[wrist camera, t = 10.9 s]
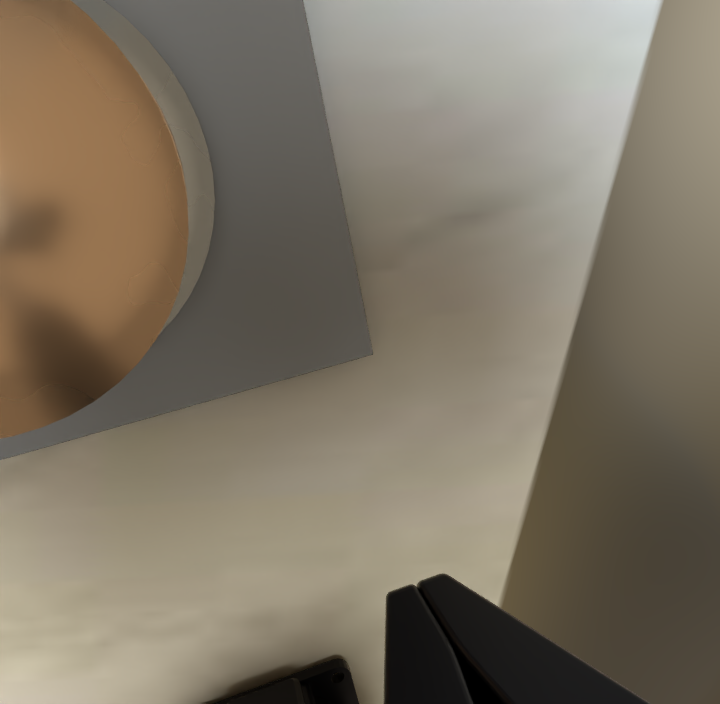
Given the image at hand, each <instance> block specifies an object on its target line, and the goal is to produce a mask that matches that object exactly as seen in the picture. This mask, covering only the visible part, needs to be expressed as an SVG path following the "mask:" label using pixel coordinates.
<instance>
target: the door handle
mask: <svg viewBox="0 0 720 704" xmlns="http://www.w3.org/2000/svg"><path fill="white" fill-rule="evenodd" d="M188 234H189V227H188V203H187V189H186V183H185V177H184V171H183V166H182V162H181V158H180V155H179V152H178V149H177V145H176V142H175V139H174V136H173V134H172V132H171V129H170V127H169V125H168V123H167V120H166V118H165V116H164V114H163V111H162V110H161V108H160V106H159V105H158V103H157V101H156V99H155V98H154V96H153V94H152V93H151V91H150V89H149V88H148V86H147V84H146V83H145V82H144V80H143V79H142V78H141V76H140V75H139V74H138V72H137V71H136V70H135V68H134V67H133V66H132V64H131V63H130V62H129V61H128V59H127V58H126V57H125V55H124V54H123V53H122V51H121V50H120V49H119V48H118V46H117V45H116V44H115V42H114V41H113V40H112V39H111V38H110V37H109V36H108V35H107V34H106V33H105V32H104V31H103V30H102V29H101V28H100V27H99V26H98V25H97V24H96V23H95V22H94V21H93V20H92V19H91V18H90V17H89V15H88V14H86V13H85V12H84V11H83V10H82V9H80V8H79V7H78V6H77V5H76V4H74V3H73V2H72V1H71V0H0V439H1V438H7V437H12V436H15V435H19V434H22V433H26V432H29V431H32V430H36V429H39V428H42V427H44V426H47V425H49V424H52V423H54V422H56V421H59V420H61V419H63V418H66V417H68V416H70V415H72V414H73V413H75V412H77V411H79V410H80V409H82V408H84V407H86V406H87V405H89V404H91V403H92V402H94V401H96V400H97V399H98V398H100V397H101V396H102V395H104V394H105V393H106V392H107V391H109V390H110V389H111V388H113V387H114V386H115V385H117V384H118V383H119V382H120V381H121V380H122V379H123V378H124V377H125V376H126V375H127V374H128V373H129V372H130V371H131V370H132V369H133V368H134V367H135V366H136V365H137V364H138V363H139V362H140V360H141V359H142V358H143V356H144V355H145V354H146V352H147V351H148V350H149V348H150V347H151V346H152V344H153V343H154V342H155V340H156V339H157V337H158V335H159V333H160V331H161V330H162V328H163V326H164V324H165V323H166V321H167V319H168V317H169V315H170V312H171V310H172V307H173V305H174V302H175V300H176V297H177V294H178V292H179V289H180V285H181V281H182V276H183V272H184V268H185V264H186V256H187V245H188Z"/></svg>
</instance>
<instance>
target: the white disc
mask: <svg viewBox="0 0 720 704" xmlns="http://www.w3.org/2000/svg"><path fill="white" fill-rule="evenodd" d="M71 1H72V2H73V3H74V4H76V5H77V6H78V7H79V8H80V9H82V10H83V11H84V12H85V13H86V14H88V15H89V17H90V18H91V19H92V20H93V21H94V22H95V23H96V24H97V25H98V26H99V27H100V28H101V29H102V30H103V31H104V32H105V33H106V34H107V35H108V36H109V37H110V38H111V39H112V40H113V41H114V42H115V44H116V45H117V46H118V48H119V49H120V50H121V51H122V53H123V54H124V55H125V57H126V58H127V59H128V61H129V62H130V63H131V64H132V66H133V67H134V68H135V70H136V71H137V72H138V74H139V75H140V76H141V78H142V79H143V80H144V82H145V83H146V84H147V86H148V88H149V89H150V91H151V93H152V94H153V96H154V98H155V99H156V101H157V103H158V105H159V106H160V108H161V110H162V111H163V114H164V116H165V118H166V120H167V123H168V125H169V127H170V129H171V132H172V134H173V136H174V139H175V142H176V145H177V149H178V152H179V155H180V158H181V162H182V166H183V171H184V177H185V183H186V189H187V203H188V227H189V234H188V245H187V256H186V264H185V268H184V272H183V276H182V281H181V285H180V289H179V292H178V294H177V297H176V300H175V302H174V305H173V307H172V310H171V312H170V315H169V317H168V319H167V321H166V323H165V324H164V326H163V328H162V330H161V331H160V333H161V332H162V331H163V330H164V329H165V328H166V326H167V325H168V324H169V323H170V322H171V321H172V320H173V319H174V318H175V317H176V315H177V314H178V312H179V311H180V309H181V308H182V306H183V305H184V304H185V302H186V301H187V299H188V298H189V296H190V294H191V292H192V290H193V288H194V286H195V284H196V282H197V280H198V278H199V276H200V274H201V272H202V269H203V266H204V263H205V260H206V257H207V254H208V251H209V246H210V241H211V236H212V230H213V223H214V206H215V196H214V182H213V172H212V167H211V162H210V157H209V152H208V147H207V144H206V141H205V138H204V135H203V132H202V129H201V126H200V123H199V120H198V118H197V116H196V114H195V112H194V109H193V107H192V105H191V103H190V101H189V99H188V97H187V95H186V93H185V91H184V89H183V88H182V86H181V85H180V83H179V81H178V80H177V78H176V77H175V75H174V74H173V72H172V70H171V69H170V67H169V66H168V64H167V63H166V62H165V61H164V59H163V58H162V57H161V56H160V55H159V53H158V52H157V51H156V50H155V48H154V47H153V46H152V45H151V43H150V42H149V41H148V40H147V39H146V38H145V37H144V36H143V35H142V34H141V33H140V32H139V31H138V30H137V29H136V28H135V27H134V26H133V25H132V24H131V23H130V22H129V21H128V20H127V19H126V18H125V17H124V16H122V15H121V14H120V13H119V12H117V11H116V10H115V9H113V8H112V7H111V6H110V5H108V4H107V3H106V2H105V1H103V0H71ZM160 333H159V334H160Z"/></svg>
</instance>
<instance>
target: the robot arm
mask: <svg viewBox="0 0 720 704" xmlns="http://www.w3.org/2000/svg"><path fill="white" fill-rule="evenodd" d="M337 672H340V673H338V674H335V673H337ZM333 674H335V675H333ZM214 704H359V703H358V699H357V695H356V692H355V688H354V684H353V680H352V677H351V673H350V670H349V667H348V664H347V662H346V661H344V660H343V659H334V660H331V661H328V662H325V663H323V664H320V665H317V666H315V667H312V668H309V669H307V670H304V671H301V672H298V673H296V674H293V675H290V676H288V677H285V678H282V679H279V680H277V681H274V682H271V683H269V684H266V685H263V686H260V687H258V688H255V689H252V690H250V691H247V692H244V693H241V694H239V695H236V696H233V697H231V698H228V699H225V700H223V701H220V702H217V703H214ZM384 704H651V703H649V702H648V701H646V700H645V699H643V698H641V697H640V696H638V695H637V694H635V693H633V692H632V691H630V690H629V689H627V688H626V687H624V686H623V685H620V684H619V683H618V682H616V681H615V680H613V679H611V678H610V677H608V676H607V675H605V674H603V673H602V672H600V671H599V670H597V669H596V668H594V667H592V666H591V665H589V664H587V663H586V662H585V661H583V660H581V659H580V658H578V657H577V656H575V655H574V654H572V653H570V652H569V651H567V650H566V649H564V648H563V647H561V646H559V645H558V644H556V643H555V642H553V641H551V640H550V639H548V638H547V637H545V636H544V635H542V634H540V633H539V632H537V631H536V630H534V629H532V628H531V627H529V626H528V625H526V624H524V623H523V622H521V621H520V620H518V619H517V618H515V617H514V616H512V615H510V614H509V613H507V612H506V611H504V610H502V609H501V608H499V607H498V606H496V605H495V604H493V603H491V602H490V601H488V600H487V599H485V598H484V597H482V596H480V595H479V594H477V593H476V592H474V591H472V590H471V589H469V588H468V587H466V586H465V585H463V584H461V583H460V582H458V581H457V580H455V579H454V578H452V577H450V576H449V575H447V574H438V575H436V576H433V577H430V578H427V579H424V580H422V581H420V582H419V583H418V584H417V587H416V586H415V585H412V584H411V585H407V586H405V587H402V588H399V589H396V590H393V591H391V592H389V593H388V594H387V596H386V621H385V663H384Z"/></svg>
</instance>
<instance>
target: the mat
mask: <svg viewBox="0 0 720 704" xmlns="http://www.w3.org/2000/svg"><path fill="white" fill-rule="evenodd" d="M103 1H105V2H106V3H107V4H108V5H110V6H111V7H112V8H113V9H115V10H116V11H117V12H119V13H120V14H121V15H122V16H124V17H125V18H126V19H127V20H128V21H129V22H130V23H131V24H132V25H133V26H134V27H135V28H136V29H137V30H138V31H139V32H140V33H141V34H142V35H143V36H144V37H145V38H146V39H147V40H148V41H149V42H150V43H151V45H152V46H153V47H154V48H155V50H156V51H157V52H158V53H159V55H160V56H161V57H162V58H163V59H164V61H165V62H166V63H167V64H168V66H169V67H170V69H171V70H172V72H173V74H174V75H175V77H176V78H177V80H178V81H179V83H180V85H181V86H182V88H183V89H184V91H185V93H186V95H187V97H188V99H189V101H190V103H191V105H192V107H193V109H194V112H195V114H196V116H197V118H198V120H199V123H200V126H201V129H202V132H203V135H204V138H205V141H206V144H207V147H208V152H209V157H210V162H211V167H212V172H213V182H214V196H215V206H214V223H213V230H212V236H211V241H210V246H209V251H208V254H207V257H206V260H205V263H204V266H203V269H202V272H201V274H200V276H199V278H198V280H197V282H196V284H195V286H194V288H193V290H192V292H191V294H190V296H189V298H188V299H187V301H186V302H185V304H184V305H183V306H182V308H181V309H180V311H179V312H178V314H177V315H176V317H175V318H174V319H173V320H172V321H171V322H170V323H169V324H168V325H167V326H166V328H165V329H164V330H163V331H162V332H161V333H160V334H159V335H158V337H157V339H156V340H155V342H154V343H153V344H152V346H151V347H150V348H149V350H148V351H147V352H146V354H145V355H144V356H143V358H142V359H141V360H140V362H139V363H138V364H137V365H136V366H135V367H134V368H133V369H132V370H131V371H130V372H129V373H128V374H127V375H126V376H125V377H124V378H123V379H122V380H121V381H120V382H119V383H118V384H117V385H115V386H114V387H113V388H111V389H110V390H109V391H107V392H106V393H105V394H104V395H102V396H101V397H100V398H98V399H97V400H96V401H94V402H92V403H91V404H89V405H87V406H86V407H84V408H82V409H80V410H79V411H77V412H75V413H73V414H72V415H70V416H68V417H66V418H63V419H61V420H59V421H56V422H54V423H52V424H49V425H47V426H44V427H42V428H39V429H36V430H32V431H29V432H26V433H22V434H19V435H15V436H12V437H7V438H1V439H0V460H2V459H6V458H9V457H13V456H16V455H20V454H24V453H27V452H31V451H34V450H38V449H41V448H45V447H48V446H52V445H55V444H59V443H62V442H66V441H69V440H73V439H76V438H80V437H84V436H87V435H91V434H94V433H98V432H101V431H105V430H108V429H112V428H115V427H119V426H122V425H126V424H129V423H133V422H136V421H140V420H144V419H147V418H151V417H154V416H158V415H161V414H165V413H168V412H172V411H175V410H179V409H182V408H186V407H189V406H193V405H196V404H200V403H204V402H207V401H211V400H214V399H218V398H221V397H225V396H228V395H232V394H235V393H239V392H242V391H246V390H249V389H253V388H256V387H260V386H263V385H267V384H271V383H274V382H278V381H281V380H285V379H288V378H292V377H295V376H299V375H302V374H306V373H309V372H313V371H316V370H320V369H323V368H327V367H331V366H334V365H338V364H341V363H345V362H348V361H352V360H355V359H359V358H362V357H366V356H369V355H373V351H372V346H371V340H370V335H369V330H368V325H367V320H366V315H365V310H364V305H363V300H362V295H361V290H360V285H359V280H358V275H357V270H356V265H355V260H354V255H353V250H352V245H351V240H350V235H349V230H348V225H347V220H346V215H345V210H344V205H343V200H342V194H341V189H340V184H339V179H338V174H337V169H336V164H335V159H334V154H333V149H332V144H331V139H330V134H329V129H328V124H327V119H326V114H325V109H324V104H323V99H322V94H321V89H320V84H319V79H318V74H317V69H316V64H315V59H314V53H313V48H312V43H311V38H310V33H309V28H308V23H307V18H306V13H305V8H304V3H303V0H103Z"/></svg>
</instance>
